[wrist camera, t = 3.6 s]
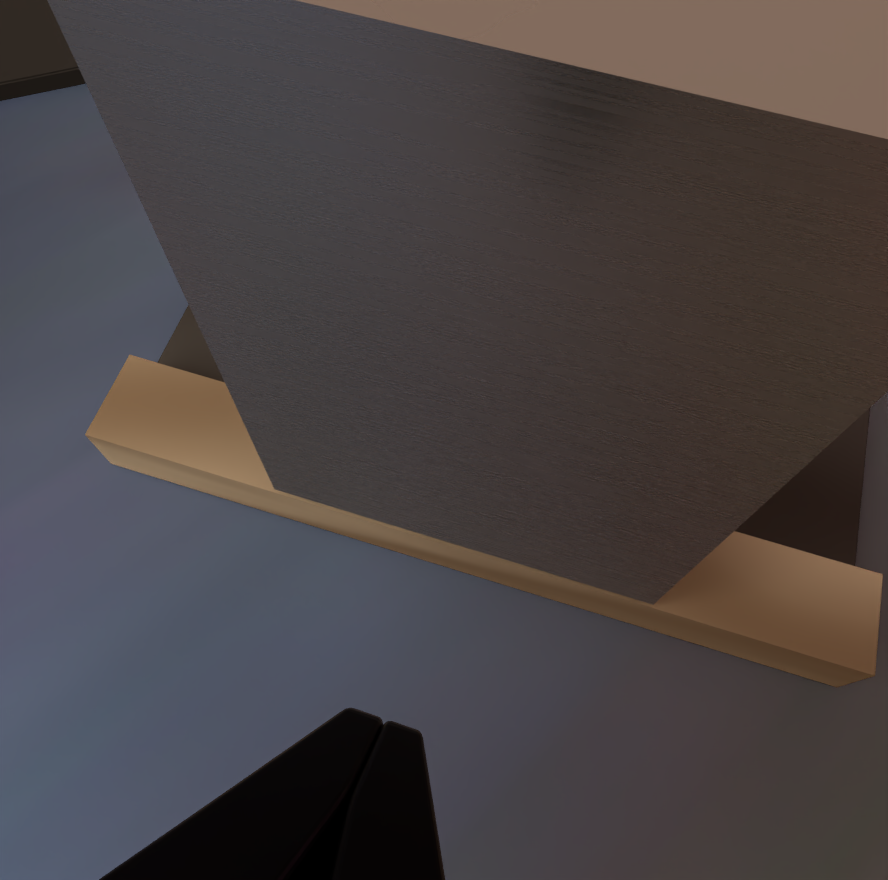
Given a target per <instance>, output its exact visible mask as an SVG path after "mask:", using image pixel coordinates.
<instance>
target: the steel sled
mask: <svg viewBox="0 0 888 880" xmlns="http://www.w3.org/2000/svg"><path fill="white" fill-rule="evenodd" d="M47 1H48V3H49V5H50V7H51V9H52V11H53V14H54V16H55V18H56V20H57V22H58V24H59V26H60V29H61V31H62V33H63V35H64V37H65V39H66V42H67V44H68V46H69V48H70V50H71V52H72V54H73V57H74V59H75V61H76V63H77V65H78V67H79V70H80V72H81V74H82V76H83V78H84V80H85V82H86V85H87V87H88V89H89V91H90V93H91V95H92V98H93V100H94V102H95V104H96V106H97V108H98V110H99V113H100V115H101V117H102V119H103V121H104V123H105V126H106V128H107V130H108V132H109V134H110V136H111V138H112V141H113V143H114V145H115V147H116V149H117V151H118V154H119V156H120V158H121V160H122V162H123V164H124V166H125V169H126V171H127V173H128V175H129V177H130V179H131V182H132V184H133V186H134V188H135V190H136V192H137V194H138V197H139V199H140V201H141V203H142V205H143V207H144V210H145V212H146V214H147V216H148V218H149V220H150V222H151V225H152V227H153V229H154V231H155V233H156V235H157V238H158V240H159V242H160V244H161V246H162V248H163V250H164V253H165V255H166V257H167V259H168V261H169V263H170V266H171V268H172V270H173V272H174V274H175V276H176V278H177V281H178V283H179V285H180V287H181V289H182V291H183V294H184V296H185V298H186V300H187V302H188V304H189V306H190V309H191V311H192V313H193V315H194V317H195V319H196V322H197V324H198V326H199V328H200V330H201V332H202V334H203V337H204V339H205V341H206V343H207V345H208V347H209V349H210V352H211V354H212V356H213V358H214V360H215V362H216V365H217V367H218V369H219V371H220V373H221V375H222V377H223V380H224V382H225V384H226V386H227V388H228V390H229V393H230V395H231V397H232V399H233V401H234V403H235V405H236V408H237V410H238V412H239V414H240V416H241V418H242V421H243V423H244V425H245V427H246V429H247V431H248V433H249V436H250V438H251V440H252V442H253V444H254V446H255V449H256V451H257V453H258V455H259V457H260V459H261V461H262V464H263V466H264V468H265V470H266V472H267V474H268V477H269V479H270V481H271V483H272V485H273V487H274V489H275V490H278V491H281V492H285V493H288V494H291V495H295V496H298V497H301V498H304V499H308V500H311V501H314V502H318V503H321V504H324V505H327V506H331V507H334V508H337V509H340V510H344V511H347V512H350V513H354V514H357V515H360V516H363V517H367V518H370V519H373V520H377V521H380V522H383V523H386V524H390V525H393V526H396V527H400V528H403V529H406V530H409V531H413V532H416V533H419V534H423V535H426V536H429V537H432V538H436V539H439V540H442V541H445V542H449V543H452V544H455V545H459V546H462V547H465V548H468V549H472V550H475V551H478V552H482V553H485V554H488V555H491V556H495V557H498V558H501V559H505V560H508V561H511V562H514V563H518V564H521V565H524V566H528V567H531V568H534V569H537V570H541V571H544V572H547V573H551V574H554V575H557V576H560V577H564V578H567V579H570V580H573V581H577V582H580V583H583V584H587V585H590V586H593V587H596V588H600V589H603V590H606V591H610V592H613V593H616V594H619V595H623V596H626V597H629V598H633V599H636V600H639V601H642V602H646V603H649V604H652V605H654V604H655V603H656V602H657V601H658V600H659V599H660V598H661V597H662V596H663V595H665V594H666V593H667V592H668V591H669V590H670V589H671V588H672V587H673V586H674V585H676V584H677V583H678V582H679V581H680V580H681V579H682V578H683V577H684V576H685V575H686V574H688V573H689V572H690V571H691V570H692V569H693V568H694V567H695V566H696V565H697V564H699V563H700V562H701V561H702V560H703V559H704V558H705V557H706V556H707V555H708V554H710V553H711V552H712V551H713V550H714V549H715V548H716V547H717V546H718V545H719V544H721V543H722V542H723V541H724V540H725V539H726V538H727V537H728V536H729V535H730V534H732V533H733V532H734V531H735V530H736V529H737V528H738V527H739V526H740V525H741V524H742V523H744V522H745V521H746V520H747V519H748V518H749V517H750V516H751V515H752V514H753V513H755V512H756V511H757V510H758V509H759V508H760V507H761V506H762V505H763V504H764V503H766V502H767V501H768V500H769V499H770V498H771V497H772V496H773V495H774V494H775V493H777V492H778V491H779V490H780V489H781V488H782V487H783V486H784V485H785V484H786V483H787V482H789V481H790V480H791V479H792V478H793V477H794V476H795V475H796V474H797V473H798V472H800V471H801V470H802V469H803V468H804V467H805V466H806V465H807V464H808V463H809V462H811V461H812V460H813V459H814V458H815V457H816V456H817V455H818V454H819V453H820V452H822V451H823V450H824V449H825V448H826V447H827V446H828V445H829V444H830V443H831V442H833V441H834V440H835V439H836V438H837V437H838V436H839V435H840V434H841V433H842V432H843V431H845V430H846V429H847V428H848V427H849V426H850V425H851V424H852V423H853V422H854V421H856V420H857V419H858V418H859V417H860V416H861V415H862V414H863V413H864V412H865V411H867V410H868V409H869V408H870V407H871V406H872V405H873V404H874V403H875V402H876V401H878V400H879V399H880V398H881V397H882V396H883V395H884V394H885V393H886V392H887V391H888V0H47Z"/></svg>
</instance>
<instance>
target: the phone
mask: <svg viewBox="0 0 888 880" xmlns="http://www.w3.org/2000/svg"><path fill="white" fill-rule="evenodd" d="M85 83H86V82H85V80H84V78H83V76H82V74H81V72H80V70H79V67H78V65H77V63H76V61H75V59H74V57H73V54H72V52H71V50H70V48H69V46H68V44H67V42H66V39H65V37H64V35H63V33H62V31H61V29H60V26H59V24H58V22H57V20H56V18H55V16H54V14H53V11H52V9H51V7H50V5H49V3H48V1H47V0H0V101H2V100H7V99H12V98H17V97H22V96H27V95H31V94H36V93H41V92H46V91H51V90H56V89H61V88H66V87H71V86H76V85H80V84H85Z"/></svg>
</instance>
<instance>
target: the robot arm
mask: <svg viewBox="0 0 888 880" xmlns="http://www.w3.org/2000/svg"><path fill="white" fill-rule="evenodd" d="M99 880H445V875H444V869H443V863H442V856H441V850H440V843H439V837H438V831H437V824H436V818H435V812H434V805H433V799H432V792H431V786H430V780H429V773H428V767H427V761H426V754H425V748H424V741H423V737H422V734H421V733H420V731H418V730H416V729H414V728H411V727H408V726H405V725H402V724H399V723H396V722H393V721H387V722H386V723H385V724H384V725H383V722H382V719H381V718H380V717H378V716H375V715H372V714H369V713H366V712H363V711H360V710H357V709H355V708H347V709H344V710H343V711H341V712H340V713H338V714H337V715H336V716H334V717H333V718H331V719H330V720H328V721H327V722H325V723H324V724H323V725H321V726H320V727H318V728H317V729H315V730H314V731H313V732H311V733H310V734H308V735H307V736H305V737H304V738H302V739H301V740H300V741H298V742H297V743H295V744H294V745H292V746H291V747H289V748H288V749H287V750H285V751H284V752H282V753H281V754H279V755H278V756H276V757H275V758H274V759H272V760H271V761H269V762H268V763H266V764H265V765H264V766H262V767H261V768H259V769H258V770H256V771H255V772H253V773H252V774H251V775H249V776H248V777H246V778H245V779H243V780H242V781H240V782H239V783H238V784H236V785H235V786H233V787H232V788H230V789H229V790H227V791H226V792H225V793H223V794H222V795H220V796H219V797H217V798H216V799H215V800H213V801H212V802H210V803H209V804H207V805H206V806H204V807H203V808H202V809H200V810H199V811H197V812H196V813H194V814H193V815H191V816H190V817H189V818H187V819H186V820H184V821H183V822H181V823H180V824H178V825H177V826H176V827H174V828H173V829H171V830H170V831H168V832H167V833H165V834H164V835H163V836H161V837H160V838H158V839H157V840H155V841H154V842H152V843H151V844H150V845H148V846H147V847H145V848H144V849H142V850H141V851H139V852H138V853H137V854H135V855H134V856H132V857H131V858H129V859H128V860H127V861H125V862H124V863H122V864H121V865H119V866H118V867H116V868H115V869H114V870H112V871H111V872H109V873H108V874H106V875H105V876H103V877H102V878H101V879H99Z"/></svg>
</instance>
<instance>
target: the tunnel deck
mask: <svg viewBox="0 0 888 880" xmlns="http://www.w3.org/2000/svg"><path fill="white" fill-rule="evenodd" d="M869 412H870V408H869V409H868V410H867V411H865V412H864V413H863V414H862V415H861V416H860V417H859V418H858V419H857V420H856V421H854V422H853V423H852V424H851V425H850V426H849V427H848V428H847V429H846V430H845V431H843V432H842V433H841V434H840V435H839V436H838V437H837V438H836V439H835V440H834V441H833V442H831V443H830V444H829V445H828V446H827V447H826V448H825V449H824V450H823V451H822V452H820V453H819V454H818V455H817V456H816V457H815V458H814V459H813V460H812V461H811V462H809V463H808V464H807V465H806V466H805V467H804V468H803V469H802V470H801V471H800V472H798V473H797V474H796V475H795V476H794V477H793V478H792V479H791V480H790V481H789V482H787V483H786V484H785V485H784V486H783V487H782V488H781V489H780V490H779V491H778V492H777V493H775V494H774V495H773V496H772V497H771V498H770V499H769V500H768V501H767V502H766V503H764V504H763V505H762V506H761V507H760V508H759V509H758V510H757V511H756V512H755V513H753V514H752V515H751V516H750V517H749V518H748V519H747V520H746V521H745V522H744V523H742V524H741V525H740V526H739V527H738V528H737V529H736V530H735V531H734V532H733V533H732V534H730V535H729V536H728V537H727V538H726V539H725V540H724V541H723V542H722V543H721V544H719V545H718V546H717V547H716V548H715V549H714V550H713V551H712V552H711V553H710V554H708V555H707V556H706V557H705V558H704V559H703V560H702V561H701V562H700V563H699V564H697V565H696V566H695V567H694V568H693V569H692V570H691V571H690V572H689V573H688V574H686V575H685V576H684V577H683V578H682V579H681V580H680V581H679V582H678V583H677V584H676V585H674V586H673V587H672V588H671V589H670V590H669V591H668V592H667V593H666V594H665V595H663V596H662V597H661V598H660V599H659V600H658V601H657V602H656V603H655V604H654V605H652V604H649V603H646V602H642V601H639V600H636V599H633V598H629V597H626V596H623V595H619V594H616V593H613V592H610V591H606V590H603V589H600V588H596V587H593V586H590V585H587V584H583V583H580V582H577V581H573V580H570V579H567V578H564V577H560V576H557V575H554V574H551V573H547V572H544V571H541V570H537V569H534V568H531V567H528V566H524V565H521V564H518V563H514V562H511V561H508V560H505V559H501V558H498V557H495V556H491V555H488V554H485V553H482V552H478V551H475V550H472V549H468V548H465V547H462V546H459V545H455V544H452V543H449V542H445V541H442V540H439V539H436V538H432V537H429V536H426V535H423V534H419V533H416V532H413V531H409V530H406V529H403V528H400V527H396V526H393V525H390V524H386V523H383V522H380V521H377V520H373V519H370V518H367V517H363V516H360V515H357V514H354V513H350V512H347V511H344V510H340V509H337V508H334V507H331V506H327V505H324V504H321V503H318V502H314V501H311V500H308V499H304V498H301V497H298V496H295V495H291V494H288V493H285V492H281V491H278V490H275V489H274V487H273V485H272V483H271V481H270V479H269V477H268V474H267V472H266V470H265V468H264V466H263V464H262V461H261V459H260V457H259V455H258V453H257V451H256V449H255V446H254V444H253V442H252V440H251V438H250V436H249V433H248V431H247V429H246V427H245V425H244V423H243V421H242V418H241V416H240V414H239V412H238V410H237V408H236V405H235V403H234V401H233V399H232V397H231V395H230V393H229V390H228V388H227V386H226V384H225V382H224V380H223V377H222V375H221V373H220V371H219V369H218V367H217V365H216V362H215V360H214V358H213V356H212V354H211V352H210V349H209V347H208V345H207V343H206V341H205V339H204V337H203V334H202V332H201V330H200V328H199V326H198V324H197V322H196V319H195V317H194V315H193V313H192V311H191V309H190V306H189V305H188V307H187V309H186V311H185V313H184V314H183V316H182V318H181V320H180V322H179V324H178V326H177V327H176V329H175V331H174V333H173V335H172V337H171V339H170V340H169V342H168V344H167V346H166V348H165V350H164V352H163V353H162V355H161V357H160V359H159V361H158V363H156V362H153V361H149V360H146V359H142V358H139V357H136V356H132V355H129V357H128V359H127V360H126V362H125V364H124V366H123V368H122V369H121V371H120V373H119V375H118V377H117V378H116V380H115V382H114V384H113V386H112V387H111V389H110V391H109V393H108V395H107V396H106V398H105V400H104V402H103V403H102V405H101V407H100V409H99V411H98V412H97V414H96V416H95V418H94V420H93V421H92V423H91V425H90V427H89V429H88V430H87V432H86V434H85V435H86V436H87V437H88V439H89V440H90V441H91V442H92V443H93V444H94V445H95V446H96V447H97V449H98V450H99V451H100V452H101V453H102V454H103V455H104V456H105V457H106V459H107V460H108V461H109V462H110V463H111V464H114V465H117V466H120V467H124V468H127V469H130V470H133V471H136V472H140V473H143V474H146V475H149V476H153V477H156V478H159V479H162V480H166V481H169V482H172V483H175V484H179V485H182V486H185V487H188V488H192V489H195V490H198V491H201V492H205V493H208V494H211V495H214V496H218V497H221V498H224V499H227V500H231V501H234V502H237V503H240V504H244V505H247V506H250V507H253V508H257V509H260V510H263V511H266V512H270V513H273V514H276V515H279V516H282V517H286V518H289V519H292V520H295V521H299V522H302V523H305V524H308V525H312V526H315V527H318V528H321V529H325V530H328V531H331V532H334V533H338V534H341V535H344V536H347V537H351V538H354V539H357V540H360V541H364V542H367V543H370V544H373V545H377V546H380V547H383V548H386V549H390V550H393V551H396V552H399V553H403V554H406V555H409V556H412V557H415V558H419V559H422V560H425V561H428V562H432V563H435V564H438V565H441V566H445V567H448V568H451V569H454V570H458V571H461V572H464V573H467V574H471V575H474V576H477V577H480V578H484V579H487V580H490V581H493V582H497V583H500V584H503V585H506V586H510V587H513V588H516V589H519V590H523V591H526V592H529V593H532V594H536V595H539V596H542V597H545V598H549V599H552V600H555V601H558V602H561V603H565V604H568V605H571V606H574V607H578V608H581V609H584V610H587V611H591V612H594V613H597V614H600V615H604V616H607V617H610V618H613V619H617V620H620V621H623V622H626V623H630V624H633V625H636V626H639V627H643V628H646V629H649V630H652V631H656V632H659V633H662V634H665V635H669V636H672V637H675V638H678V639H682V640H685V641H688V642H691V643H694V644H698V645H701V646H704V647H707V648H711V649H714V650H717V651H720V652H724V653H727V654H730V655H733V656H737V657H740V658H743V659H746V660H750V661H753V662H756V663H759V664H763V665H766V666H769V667H772V668H776V669H779V670H782V671H785V672H789V673H792V674H795V675H798V676H802V677H805V678H808V679H811V680H815V681H818V682H821V683H824V684H828V685H831V686H834V687H840V686H843V685H846V684H850V683H853V682H856V681H860V680H863V679H866V678H869V677H873V676H875V669H876V656H877V643H878V631H879V618H880V605H881V592H882V579H883V574H880V573H876V572H873V571H869V570H866V569H863V568H859V567H856V566H855V562H856V551H857V540H858V530H859V519H860V508H861V497H862V487H863V476H864V465H865V454H866V444H867V433H868V422H869Z"/></svg>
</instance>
